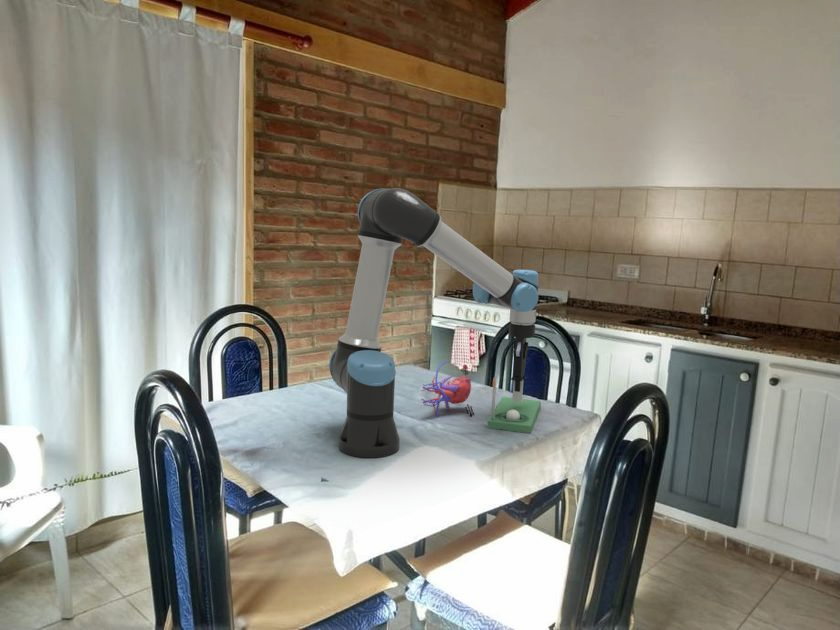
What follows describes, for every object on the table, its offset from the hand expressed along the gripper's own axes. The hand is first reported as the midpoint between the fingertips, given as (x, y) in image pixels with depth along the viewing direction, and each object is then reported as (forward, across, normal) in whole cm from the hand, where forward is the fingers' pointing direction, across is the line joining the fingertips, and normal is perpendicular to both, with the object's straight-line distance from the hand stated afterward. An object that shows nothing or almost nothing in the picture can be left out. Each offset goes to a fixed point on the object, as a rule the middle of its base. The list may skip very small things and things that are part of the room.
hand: (517, 401), depth 192 cm
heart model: (+5, -7, +18) cm, 20 cm away
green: (+4, -3, 0) cm, 5 cm away
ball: (+2, -9, 0) cm, 9 cm away
